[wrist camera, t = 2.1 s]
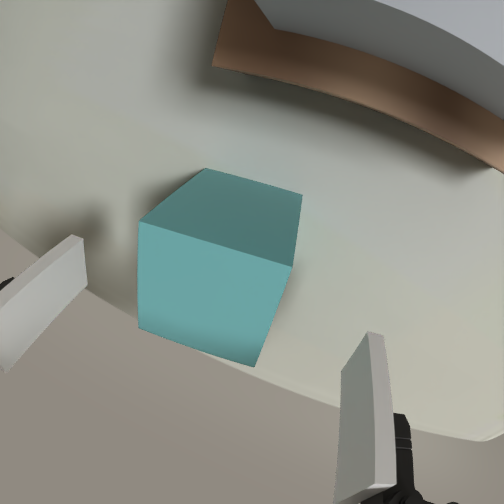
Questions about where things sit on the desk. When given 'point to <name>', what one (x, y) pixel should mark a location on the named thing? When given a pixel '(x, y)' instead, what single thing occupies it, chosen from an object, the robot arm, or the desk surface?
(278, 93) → the desk surface
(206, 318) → the block
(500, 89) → the tower top
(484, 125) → the tower base
